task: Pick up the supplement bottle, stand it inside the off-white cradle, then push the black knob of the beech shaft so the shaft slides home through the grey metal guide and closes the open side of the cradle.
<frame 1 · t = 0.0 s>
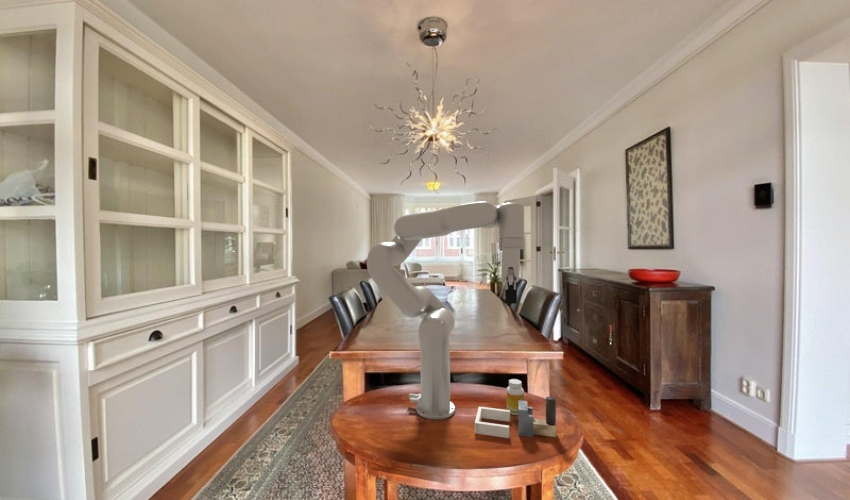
hand: (511, 300, 102), 37 cm above the table, tool pointing down, fingers open, 9 cm apart
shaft: (540, 414, 96), point 5 cm above the table, slide at 4.5 cm
cradle: (493, 426, 99), on the table
supplement bottle: (515, 411, 108), on the table
guide block: (525, 430, 97), on the table
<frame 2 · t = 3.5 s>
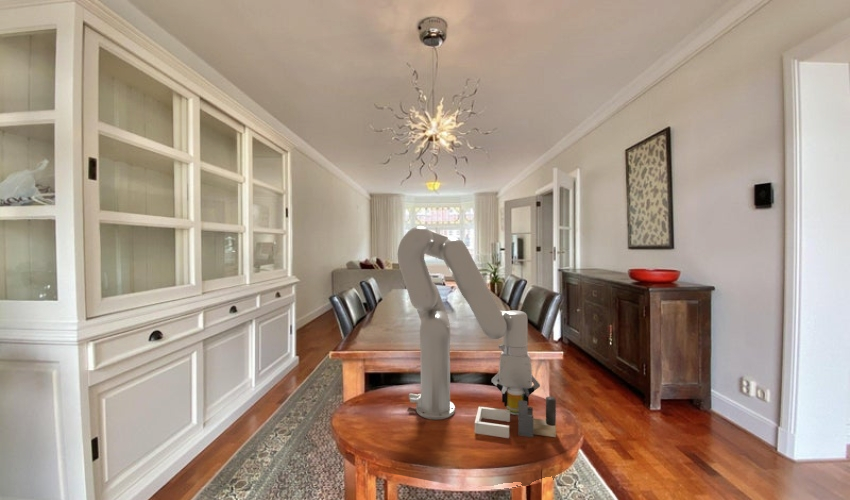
hand: (515, 405, 108), 2 cm above the table, tool pointing down, fingers closed on supplement bottle, 5 cm apart
supplement bottle: (515, 411, 108), on the table, touching gripper
everything else where it was.
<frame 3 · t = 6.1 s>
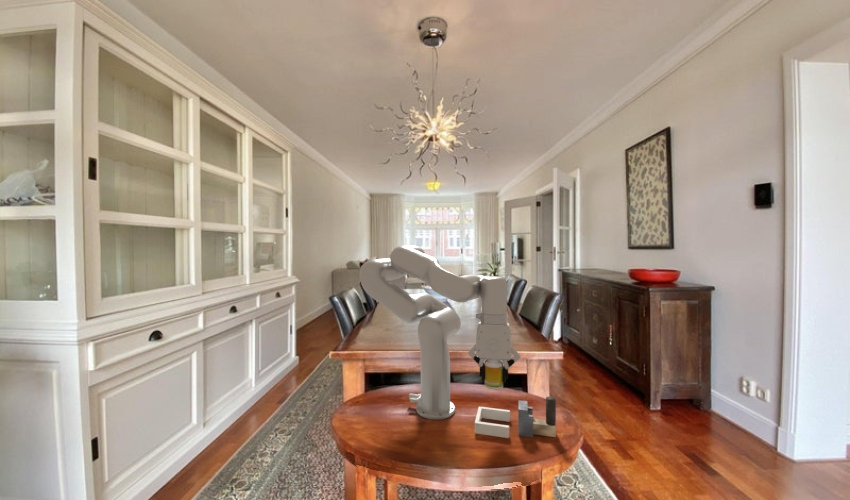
hand: (493, 379, 99), 14 cm above the table, tool pointing down, fingers closed on supplement bottle, 5 cm apart
supplement bottle: (493, 386, 99), point 12 cm above the table, touching gripper
everything else where it was.
when the fingers open (3 cm above the table, at t = 8.7 s): supplement bottle drops 1 cm, on the table.
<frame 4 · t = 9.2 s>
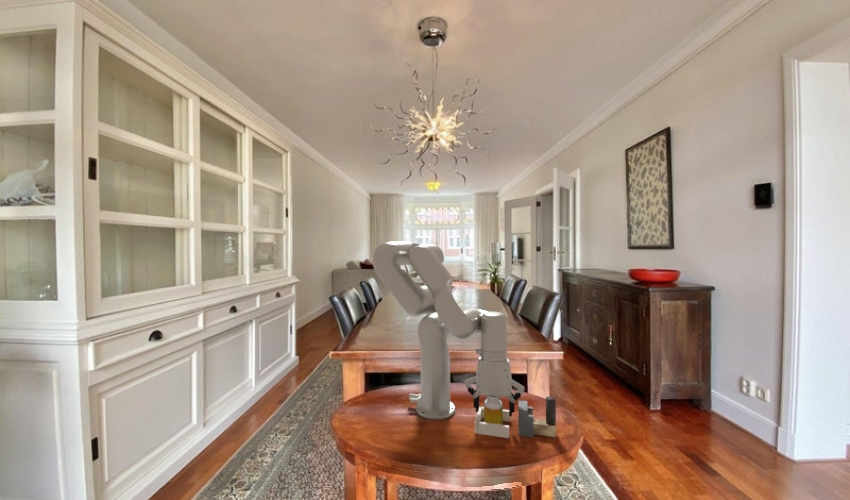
hand: (493, 412, 99), 4 cm above the table, tool pointing down, fingers open, 9 cm apart
supplement bottle: (493, 427, 100), on the table
everything else where it was.
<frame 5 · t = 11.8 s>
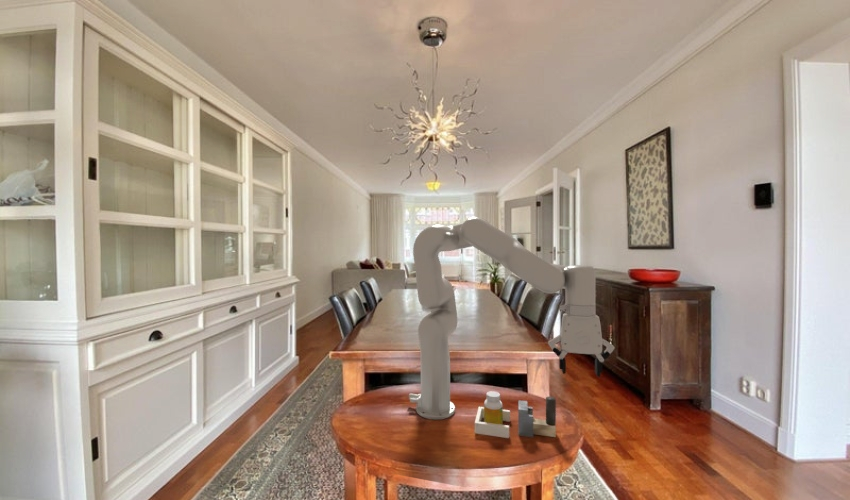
hand: (580, 373, 93), 18 cm above the table, tool pointing down, fingers open, 8 cm apart
nothing on the table moved.
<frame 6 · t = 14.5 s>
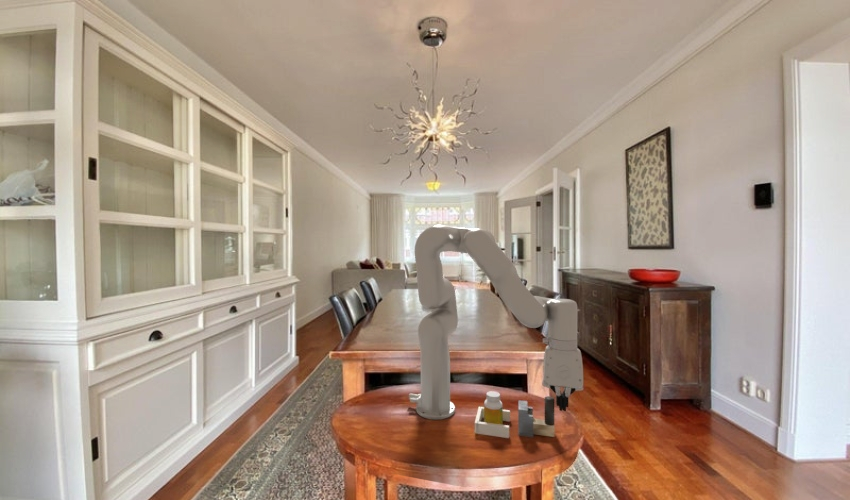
hand: (562, 408, 94), 8 cm above the table, tool pointing down, fingers closed
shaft: (539, 414, 96), point 5 cm above the table, slide at 4.1 cm, touching gripper
everything else where it was.
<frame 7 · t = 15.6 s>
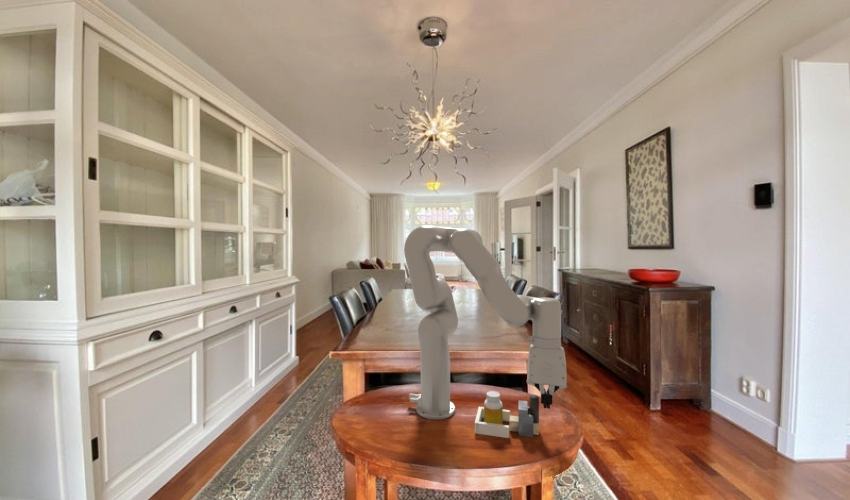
hand: (546, 406, 95), 8 cm above the table, tool pointing down, fingers closed
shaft: (524, 412, 97), point 5 cm above the table, slide at 0.0 cm, touching gripper
everything else where it was.
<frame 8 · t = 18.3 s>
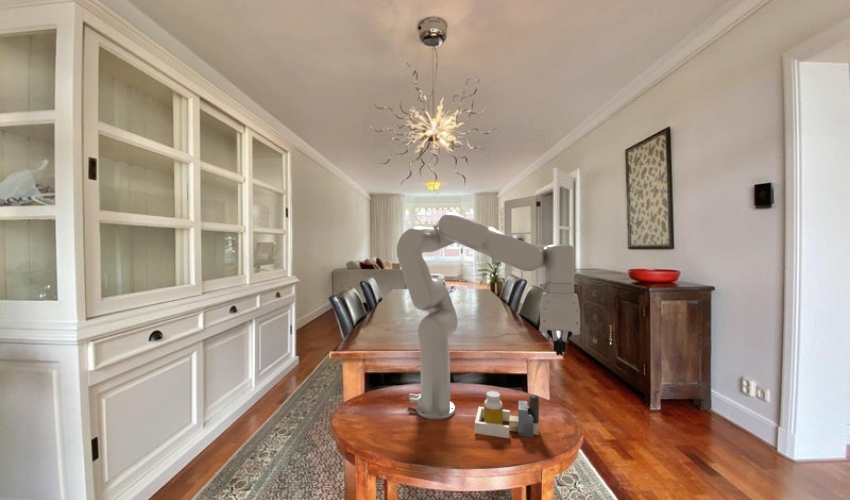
hand: (559, 353, 94), 23 cm above the table, tool pointing down, fingers closed
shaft: (523, 412, 97), point 5 cm above the table, slide at 0.0 cm
everything else where it was.
at the end: supplement bottle 0.2 cm from the target spot, on the table; supplement bottle tilted 0°; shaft slide at 0.0 cm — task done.
